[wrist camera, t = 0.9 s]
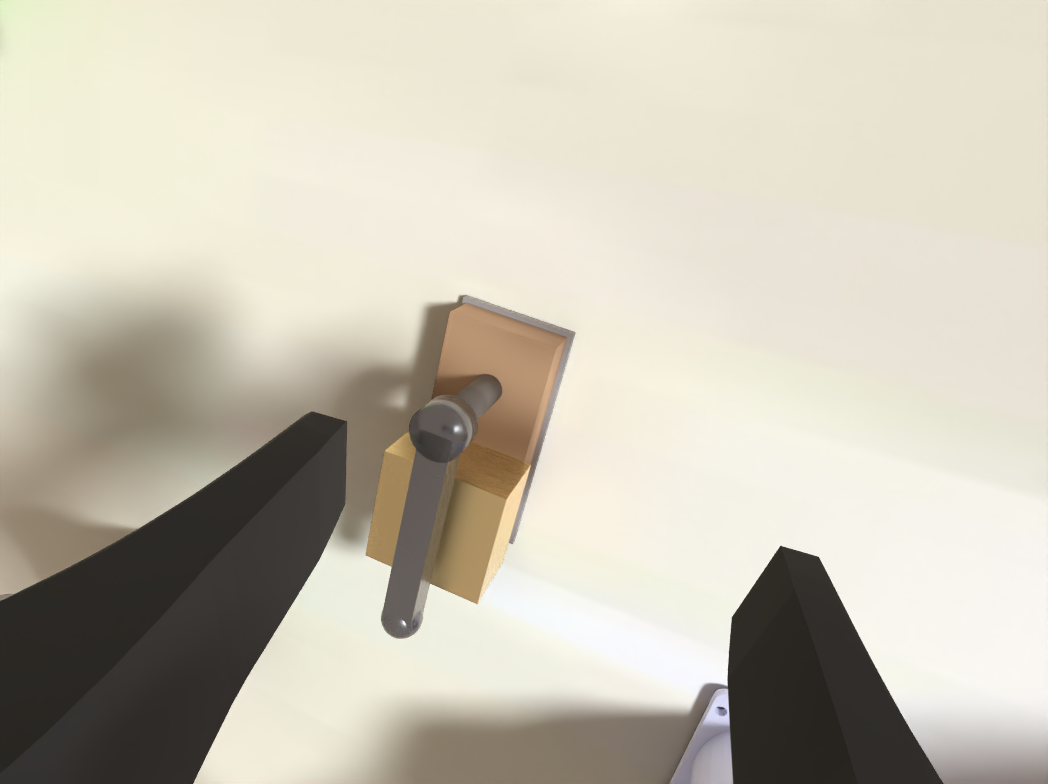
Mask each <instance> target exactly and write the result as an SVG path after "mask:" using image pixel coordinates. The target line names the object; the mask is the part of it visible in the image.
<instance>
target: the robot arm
mask: <svg viewBox="0 0 1048 784" xmlns="http://www.w3.org/2000/svg"><path fill="white" fill-rule="evenodd" d="M346 443H347V421H343V420H340V419H336V418H333V417H329V416H326V415H323V414H319V413H316V412H310V413H308V414H306V415H304V416H303V417H302V418H300V419H299V420H298V421H296V422H295V423H294V424H292V425H291V426H290V427H288V428H287V429H286V430H284V431H283V432H282V433H280V434H279V435H277V436H276V437H275V438H273V439H272V440H271V441H269V442H268V443H267V444H265V445H264V446H263V447H261V448H260V449H258V450H257V451H256V452H254V453H253V454H251V455H250V456H249V457H247V458H246V459H245V460H243V461H242V462H240V463H239V464H238V465H236V466H235V467H233V468H232V469H230V470H229V471H227V472H226V473H224V474H223V475H221V476H220V477H219V478H217V479H216V480H214V481H213V482H211V483H210V484H208V485H207V486H205V487H204V488H203V489H201V490H200V491H198V492H197V493H195V494H194V495H192V496H190V497H189V498H187V499H186V500H184V501H183V502H181V503H179V504H178V505H176V506H175V507H173V508H171V509H170V510H168V511H167V512H165V513H163V514H162V515H160V516H158V517H157V518H155V519H154V520H152V521H150V522H149V523H147V524H146V525H144V526H142V527H141V528H139V529H137V530H136V531H134V532H132V533H131V534H129V535H127V536H125V537H124V538H122V539H120V540H118V541H117V542H115V543H113V544H111V545H110V546H108V547H106V548H104V549H102V550H101V551H99V552H97V553H95V554H93V555H91V556H89V557H88V558H86V559H84V560H82V561H80V562H78V563H76V564H74V565H72V566H71V567H69V568H67V569H65V570H63V571H61V572H59V573H57V574H55V575H53V576H51V577H49V578H47V579H45V580H43V581H40V582H38V583H36V584H34V585H32V586H30V587H28V588H26V589H24V590H22V591H20V592H18V593H16V594H14V595H12V596H10V597H8V598H5V599H3V600H1V601H0V784H193V783H194V781H195V779H196V776H197V774H198V772H199V770H200V768H201V766H202V764H203V762H204V760H205V758H206V756H207V754H208V752H209V750H210V748H211V746H212V744H213V742H214V740H215V738H216V736H217V734H218V732H219V730H220V727H221V725H222V723H223V721H224V719H225V717H226V715H227V713H228V711H229V709H230V707H231V705H232V703H233V701H234V700H235V698H236V696H237V694H238V693H239V691H240V689H241V687H242V685H243V684H244V682H245V680H246V678H247V677H248V675H249V673H250V672H251V670H252V668H253V667H254V665H255V664H256V662H257V660H258V659H259V657H260V655H261V654H262V652H263V651H264V649H265V647H266V646H267V644H268V642H269V641H270V639H271V638H272V636H273V634H274V633H275V631H276V630H277V628H278V626H279V625H280V623H281V621H282V620H283V618H284V617H285V615H286V613H287V612H288V610H289V608H290V607H291V605H292V604H293V602H294V600H295V599H296V597H297V595H298V594H299V592H300V591H301V589H302V587H303V586H304V584H305V582H306V581H307V579H308V577H309V576H310V574H311V573H312V571H313V569H314V568H315V566H316V564H317V563H318V561H319V559H320V557H321V555H322V553H323V551H324V549H325V547H326V545H327V543H328V541H329V539H330V536H331V534H332V532H333V530H334V528H335V525H336V523H337V521H338V519H339V517H340V514H341V512H342V510H343V508H344V505H345V489H346ZM719 706H720V707H724V708H725V709H723V710H722V709H719V708H717V707H719ZM669 784H943V782H942V781H941V779H940V778H939V776H938V774H937V773H936V771H935V769H934V768H933V766H932V764H931V763H930V761H929V759H928V758H927V756H926V755H925V753H924V751H923V750H922V748H921V746H920V745H919V743H918V741H917V740H916V738H915V737H914V735H913V733H912V732H911V730H910V728H909V726H908V725H907V723H906V721H905V720H904V718H903V716H902V714H901V713H900V711H899V709H898V707H897V705H896V704H895V702H894V700H893V698H892V696H891V695H890V693H889V691H888V689H887V687H886V685H885V684H884V682H883V680H882V678H881V676H880V675H879V673H878V671H877V669H876V667H875V665H874V664H873V662H872V660H871V658H870V656H869V654H868V652H867V650H866V648H865V646H864V645H863V643H862V641H861V639H860V637H859V635H858V633H857V631H856V629H855V627H854V625H853V623H852V621H851V619H850V617H849V615H848V613H847V611H846V609H845V607H844V605H843V604H842V602H841V600H840V598H839V596H838V594H837V592H836V590H835V588H834V586H833V584H832V582H831V580H830V578H829V576H828V574H827V572H826V570H825V568H824V566H823V564H822V562H821V560H820V558H819V557H817V556H814V555H810V554H807V553H803V552H800V551H796V550H793V549H789V548H786V547H782V546H780V547H779V549H778V550H777V552H776V553H775V555H774V556H773V558H772V559H771V561H770V562H769V564H768V565H767V567H766V568H765V570H764V571H763V572H762V574H761V575H760V577H759V578H758V580H757V581H756V583H755V584H754V586H753V587H752V589H751V590H750V592H749V593H748V595H747V596H746V598H745V599H744V600H743V602H742V603H741V605H740V606H739V608H738V609H737V611H736V612H735V614H734V615H733V617H732V623H731V635H730V647H729V663H728V689H725V688H724V689H718V690H716V692H715V693H714V695H713V697H712V699H711V701H710V703H709V705H708V707H707V709H706V711H705V713H704V715H703V717H702V719H701V721H700V723H699V725H698V727H697V729H696V731H695V733H694V735H693V737H692V739H691V741H690V743H689V745H688V747H687V749H686V751H685V753H684V755H683V757H682V759H681V761H680V763H679V765H678V767H677V769H676V771H675V773H674V775H673V777H672V779H671V781H670V783H669Z"/></svg>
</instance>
